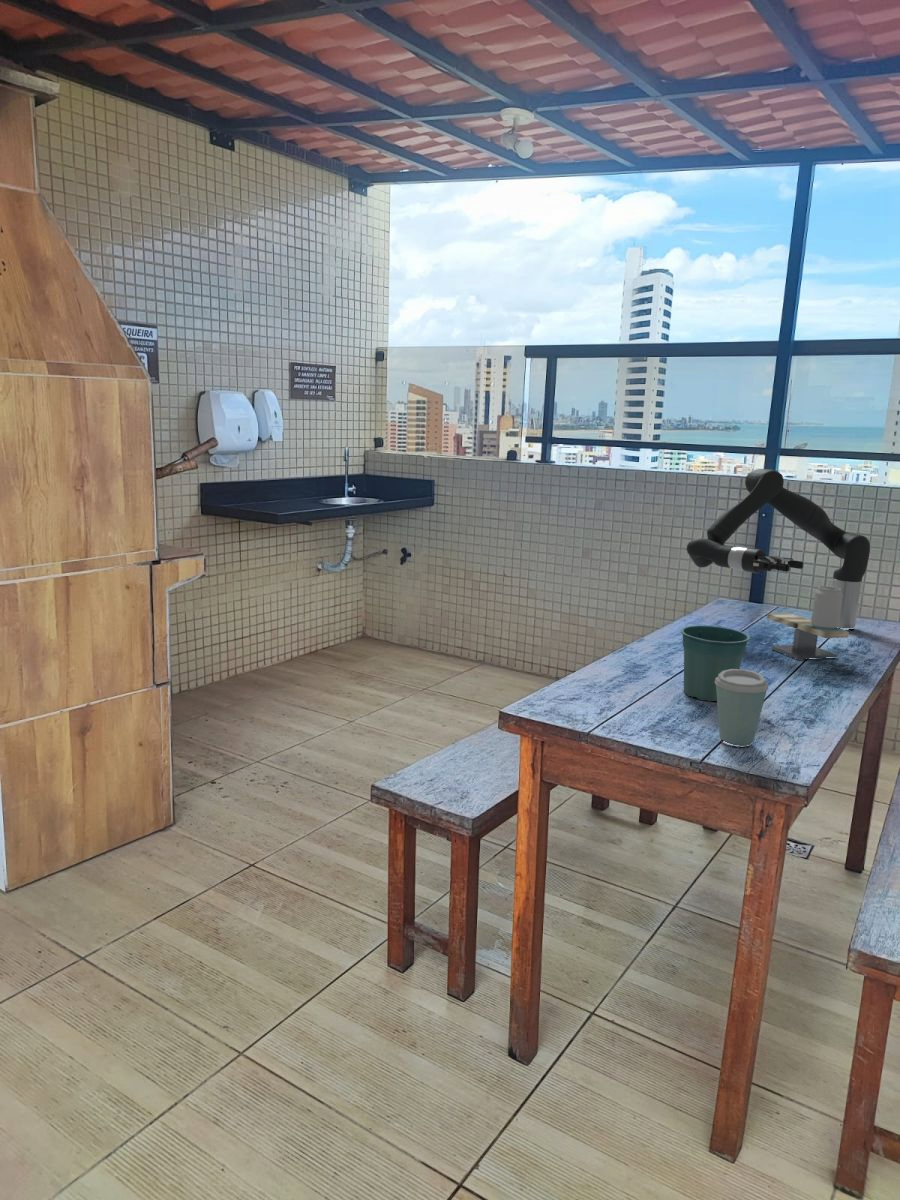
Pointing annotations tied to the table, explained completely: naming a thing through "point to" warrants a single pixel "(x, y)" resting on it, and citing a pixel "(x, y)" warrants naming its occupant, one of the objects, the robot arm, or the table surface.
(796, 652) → the stand
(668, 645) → the table surface
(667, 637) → the table surface
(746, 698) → the disposable coffee cup
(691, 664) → the flower pot
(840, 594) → the can
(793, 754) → the table surface
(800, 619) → the beam
